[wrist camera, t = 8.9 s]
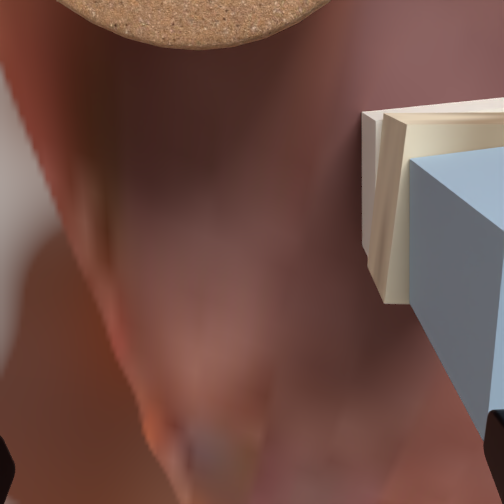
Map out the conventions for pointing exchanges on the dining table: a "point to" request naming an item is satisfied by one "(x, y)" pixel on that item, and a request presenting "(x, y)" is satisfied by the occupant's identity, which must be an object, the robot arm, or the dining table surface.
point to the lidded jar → (195, 20)
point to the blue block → (461, 270)
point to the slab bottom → (373, 138)
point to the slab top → (398, 183)
